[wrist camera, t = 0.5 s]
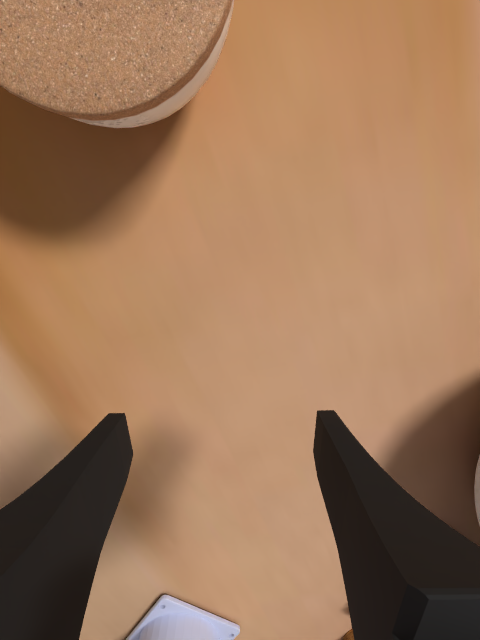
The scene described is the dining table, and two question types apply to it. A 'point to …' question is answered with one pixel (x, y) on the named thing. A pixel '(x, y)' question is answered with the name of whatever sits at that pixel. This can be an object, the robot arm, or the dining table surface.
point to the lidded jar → (110, 55)
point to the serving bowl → (477, 490)
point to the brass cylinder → (349, 635)
